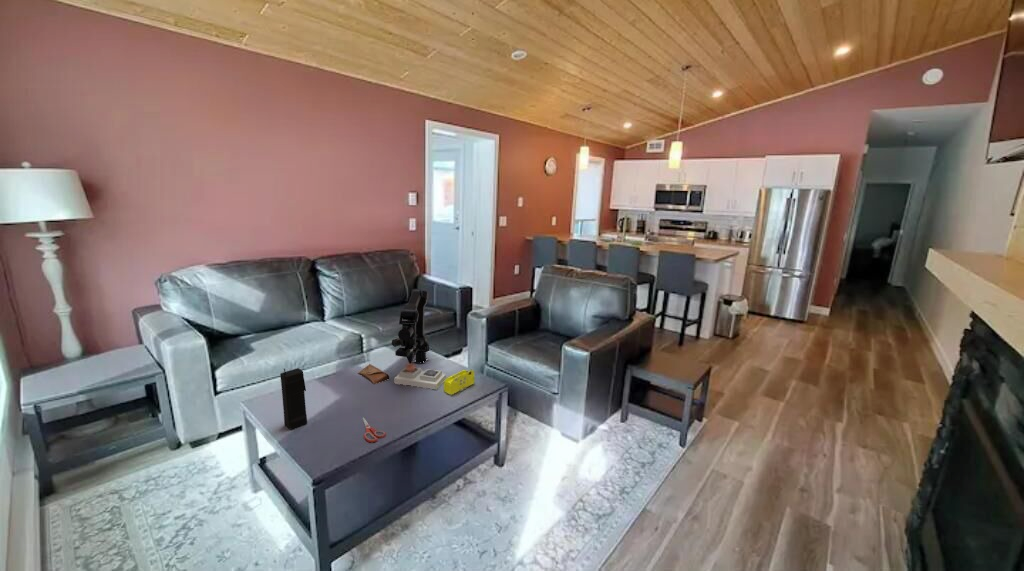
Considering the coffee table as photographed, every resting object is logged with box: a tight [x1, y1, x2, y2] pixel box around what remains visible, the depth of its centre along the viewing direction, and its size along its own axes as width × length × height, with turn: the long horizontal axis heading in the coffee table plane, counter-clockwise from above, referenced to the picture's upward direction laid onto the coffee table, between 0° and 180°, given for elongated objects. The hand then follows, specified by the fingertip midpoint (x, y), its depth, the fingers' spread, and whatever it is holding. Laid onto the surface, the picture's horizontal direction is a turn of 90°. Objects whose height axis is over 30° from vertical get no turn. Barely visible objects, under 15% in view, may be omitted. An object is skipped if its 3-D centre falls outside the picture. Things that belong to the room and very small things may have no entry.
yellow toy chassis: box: [443, 369, 475, 396], centre depth 200 cm, size 16×6×8 cm, turn 144°
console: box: [393, 366, 447, 391], centre depth 206 cm, size 12×22×5 cm, turn 77°
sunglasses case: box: [357, 363, 390, 385], centre depth 210 cm, size 18×7×7 cm, turn 48°
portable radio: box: [280, 368, 308, 430], centre depth 164 cm, size 8×6×25 cm
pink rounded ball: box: [405, 362, 416, 372], centre depth 206 cm, size 4×4×3 cm
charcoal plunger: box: [426, 369, 436, 377], centre depth 204 cm, size 4×4×3 cm
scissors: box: [362, 417, 387, 444], centre depth 165 cm, size 8×21×2 cm, turn 45°
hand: (410, 363), depth 206 cm, fingers closed
